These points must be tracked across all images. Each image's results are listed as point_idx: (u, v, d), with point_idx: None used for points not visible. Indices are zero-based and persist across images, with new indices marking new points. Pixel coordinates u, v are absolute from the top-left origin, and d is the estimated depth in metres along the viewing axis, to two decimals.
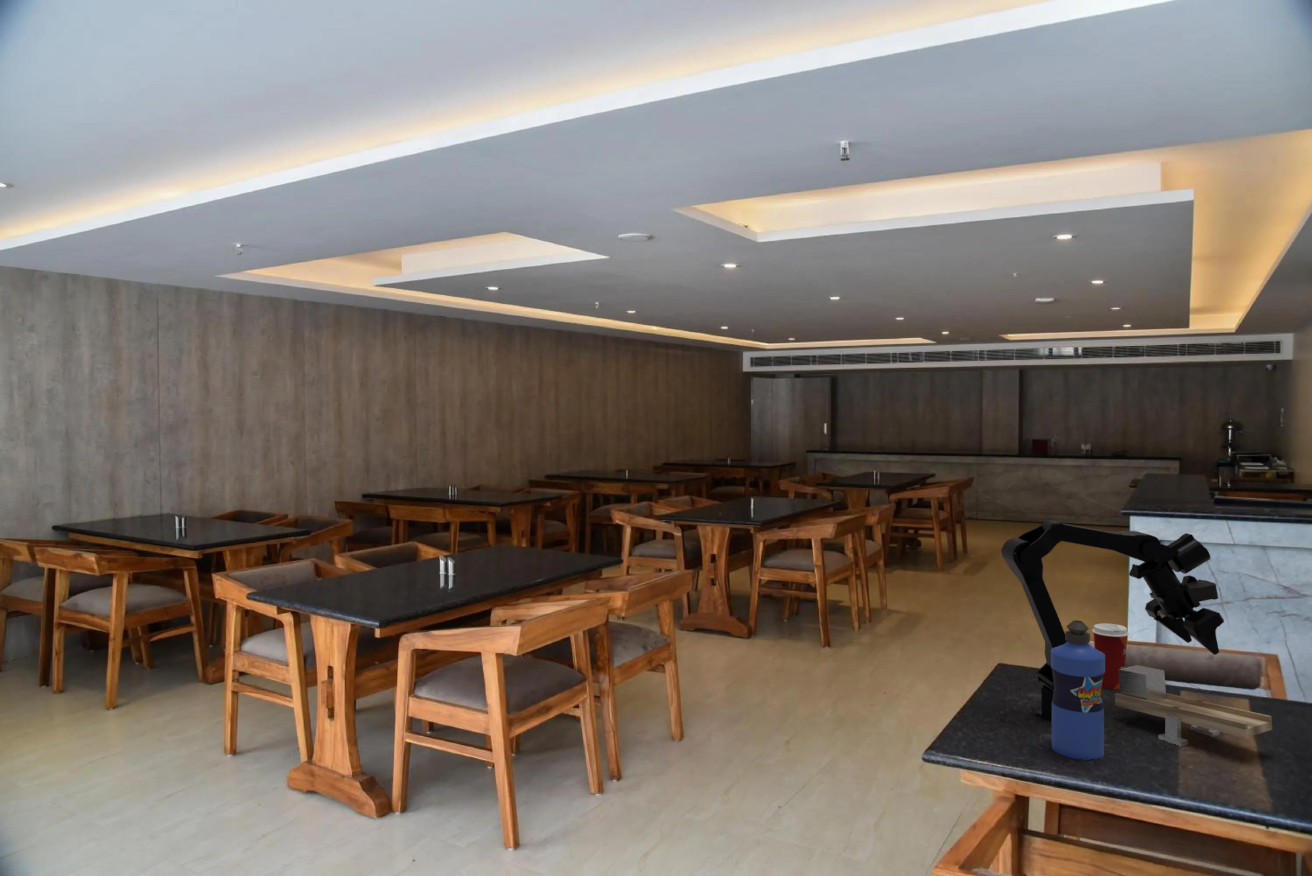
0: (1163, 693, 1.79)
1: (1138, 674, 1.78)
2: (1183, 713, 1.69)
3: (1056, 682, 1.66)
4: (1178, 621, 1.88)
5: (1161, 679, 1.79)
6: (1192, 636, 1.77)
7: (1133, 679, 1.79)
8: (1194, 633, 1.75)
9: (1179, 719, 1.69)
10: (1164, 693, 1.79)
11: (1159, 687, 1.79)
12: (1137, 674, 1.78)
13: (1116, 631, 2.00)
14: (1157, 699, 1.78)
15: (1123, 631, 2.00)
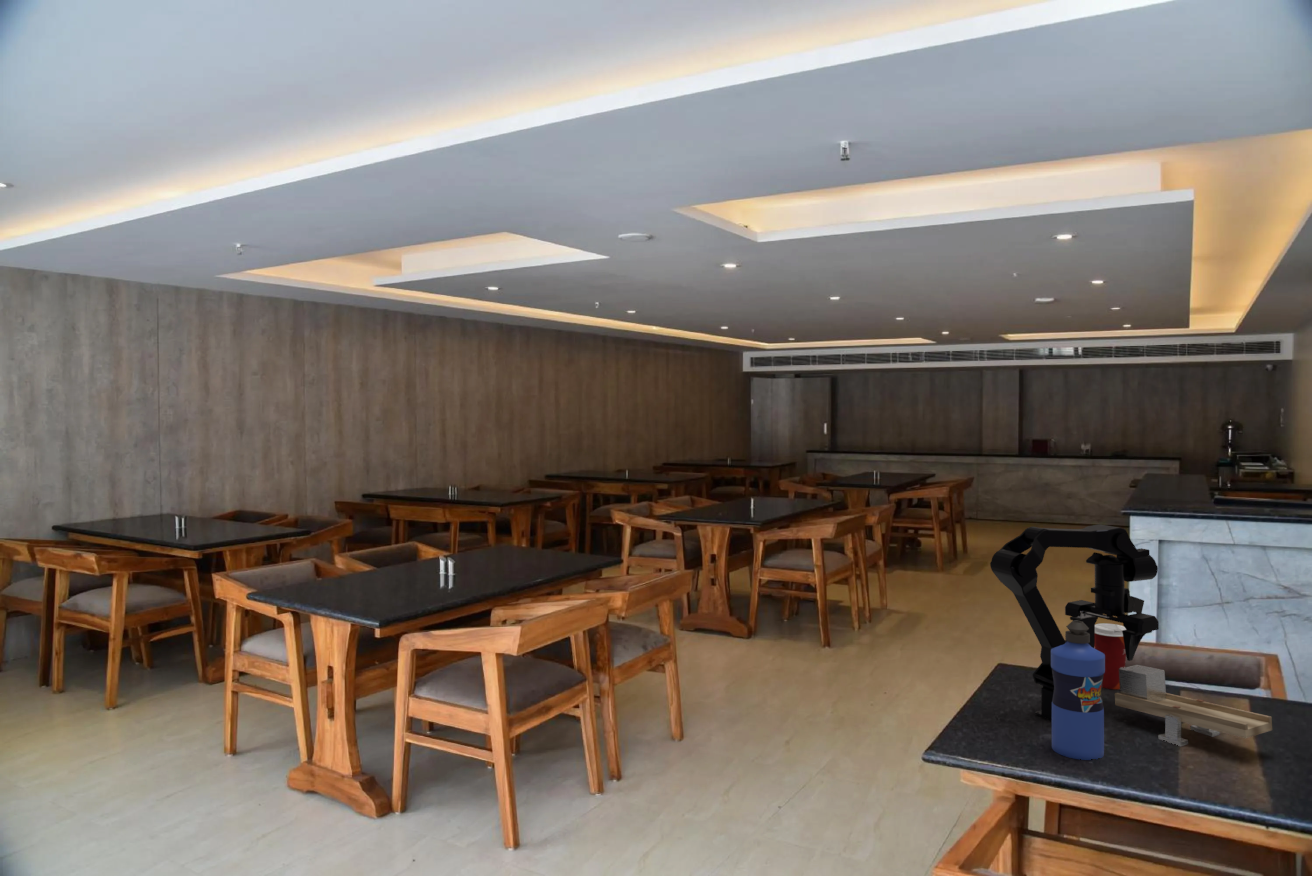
0: (1163, 693, 1.79)
1: (1138, 674, 1.78)
2: (1183, 713, 1.69)
3: (1056, 682, 1.66)
4: (1091, 627, 1.92)
5: (1161, 679, 1.79)
6: (1125, 634, 1.81)
7: (1133, 679, 1.79)
8: (1135, 629, 1.79)
9: (1179, 719, 1.69)
10: (1164, 693, 1.79)
11: (1159, 686, 1.79)
12: (1137, 674, 1.78)
13: (1116, 631, 2.00)
14: (1157, 699, 1.78)
15: None
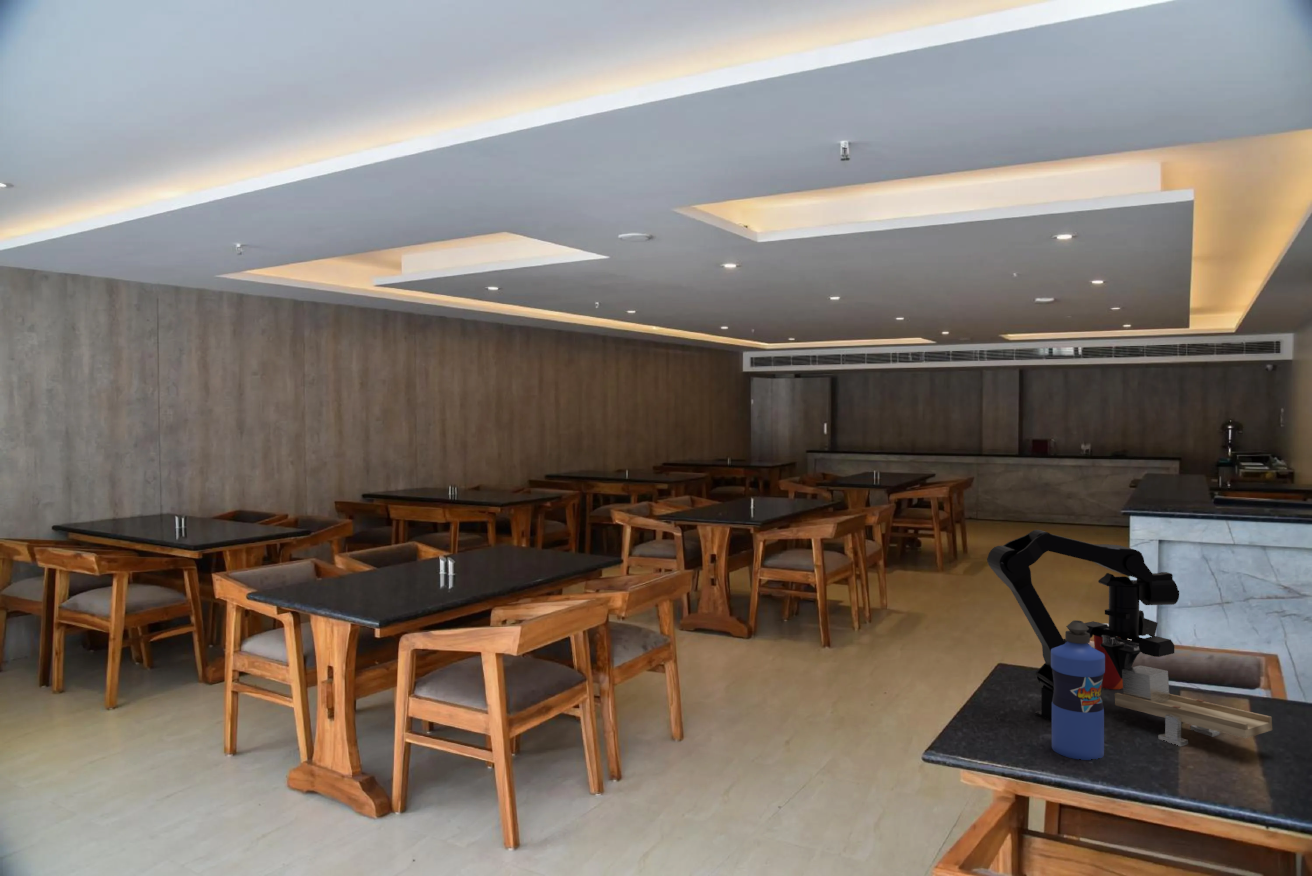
0: (1166, 693, 1.78)
1: (1142, 674, 1.78)
2: (1183, 713, 1.69)
3: (1056, 682, 1.66)
4: None
5: (1165, 679, 1.78)
6: (1120, 652, 1.82)
7: (1136, 679, 1.79)
8: (1151, 653, 1.75)
9: (1179, 719, 1.69)
10: (1167, 694, 1.78)
11: (1163, 687, 1.78)
12: (1141, 674, 1.78)
13: None
14: (1161, 700, 1.77)
15: None
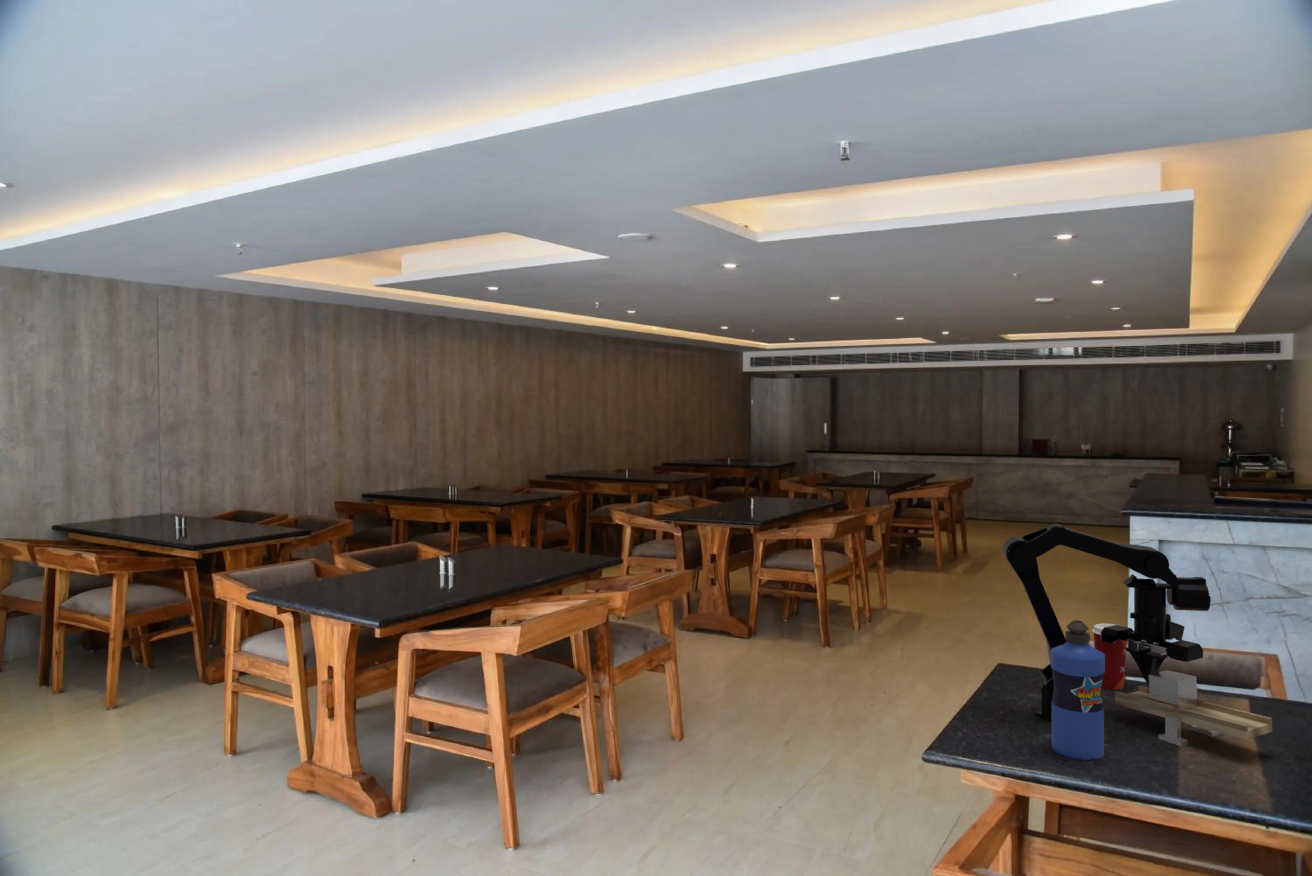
0: (1194, 700, 1.73)
1: (1170, 680, 1.72)
2: (1183, 713, 1.69)
3: (1056, 682, 1.66)
4: None
5: (1193, 685, 1.73)
6: (1147, 657, 1.77)
7: (1164, 685, 1.73)
8: (1180, 657, 1.70)
9: (1179, 719, 1.69)
10: (1195, 700, 1.73)
11: (1191, 693, 1.73)
12: (1169, 680, 1.73)
13: None
14: (1189, 706, 1.72)
15: None
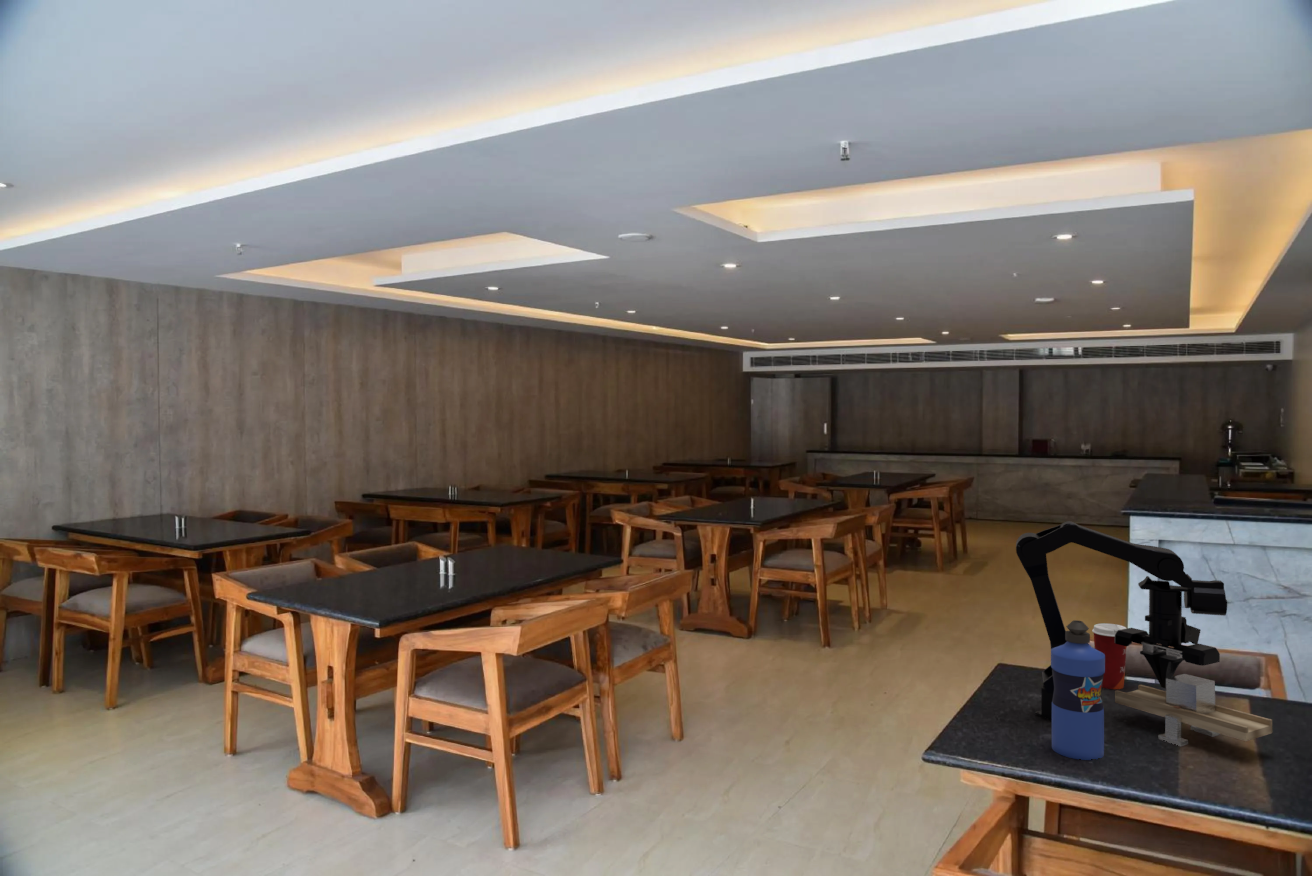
0: (1212, 705, 1.70)
1: (1187, 685, 1.69)
2: (1183, 714, 1.69)
3: (1056, 682, 1.66)
4: None
5: (1211, 690, 1.70)
6: (1162, 660, 1.74)
7: (1181, 689, 1.70)
8: (1196, 661, 1.67)
9: (1179, 719, 1.69)
10: (1213, 705, 1.70)
11: (1209, 698, 1.70)
12: (1186, 685, 1.69)
13: (1116, 631, 2.00)
14: (1206, 711, 1.69)
15: None
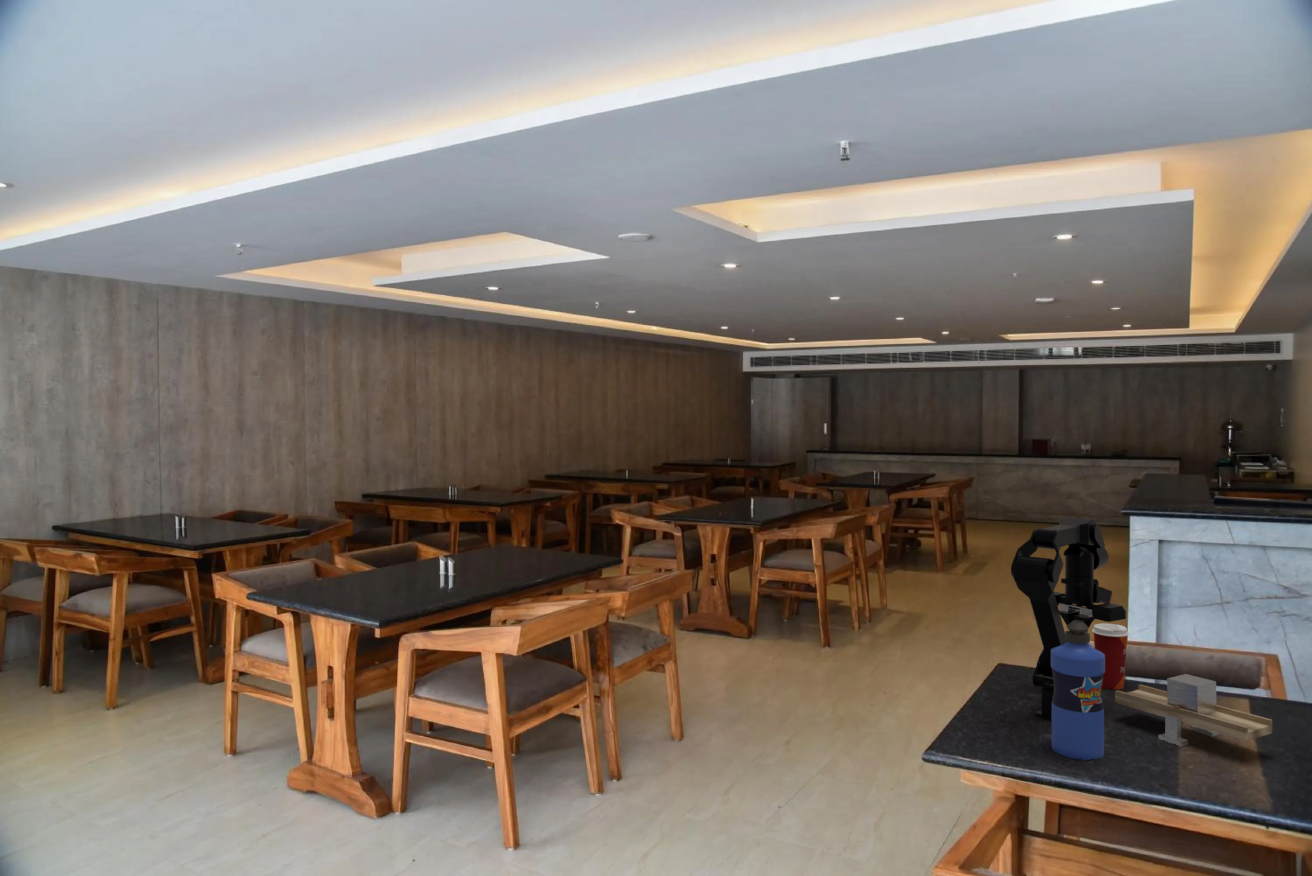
0: (1214, 705, 1.70)
1: (1189, 685, 1.69)
2: (1183, 714, 1.69)
3: (1056, 682, 1.66)
4: None
5: (1212, 690, 1.70)
6: (1075, 619, 1.90)
7: (1183, 690, 1.70)
8: (1103, 618, 1.84)
9: (1179, 719, 1.69)
10: (1214, 705, 1.70)
11: (1210, 698, 1.69)
12: (1188, 685, 1.69)
13: (1116, 631, 2.00)
14: (1208, 712, 1.69)
15: (1123, 631, 2.00)
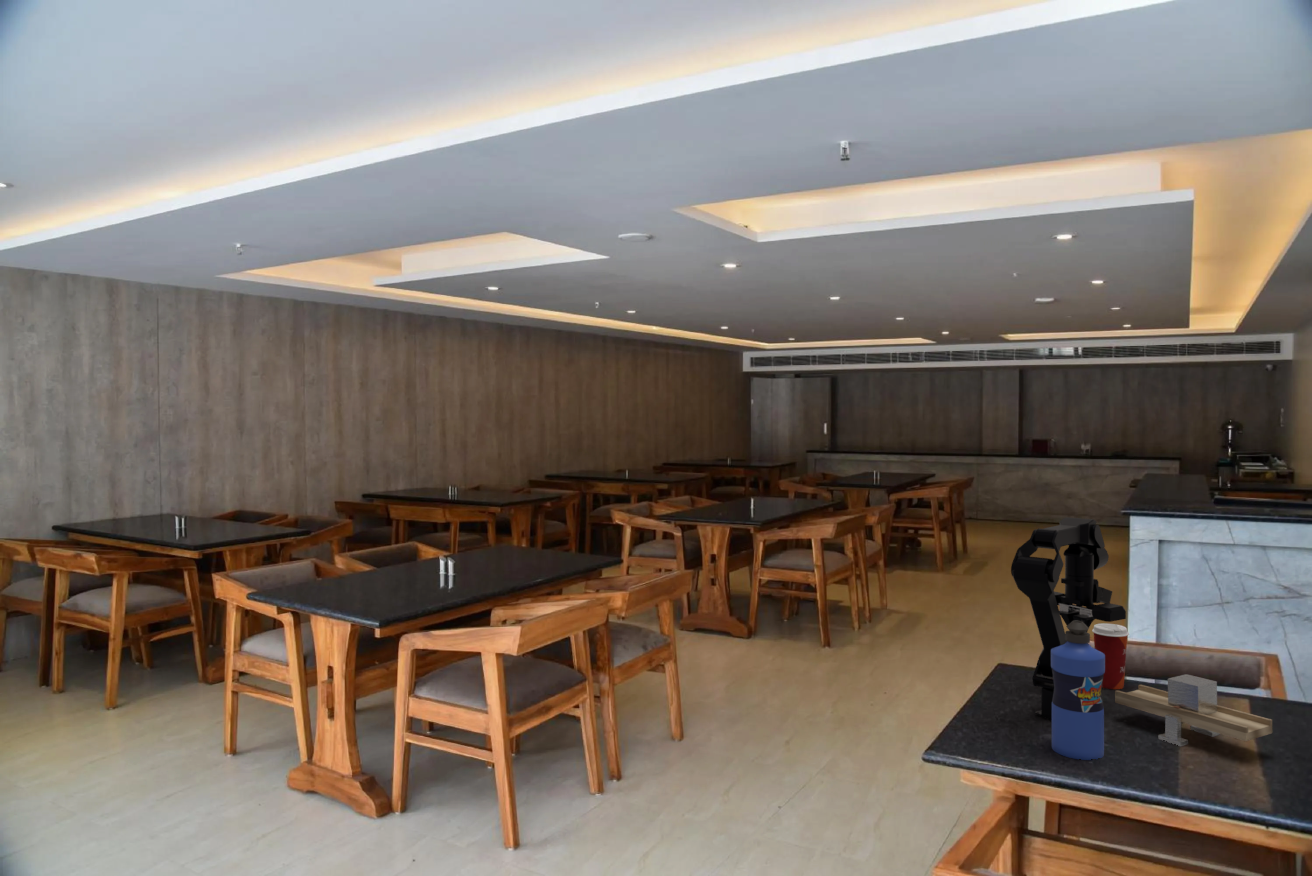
0: (1214, 705, 1.70)
1: (1189, 685, 1.69)
2: (1183, 714, 1.69)
3: (1056, 682, 1.66)
4: None
5: (1213, 691, 1.70)
6: (1075, 619, 1.90)
7: (1183, 690, 1.70)
8: (1103, 618, 1.84)
9: (1179, 719, 1.69)
10: (1215, 706, 1.70)
11: (1211, 699, 1.69)
12: (1188, 685, 1.69)
13: (1116, 631, 2.00)
14: (1208, 712, 1.69)
15: (1123, 631, 2.00)
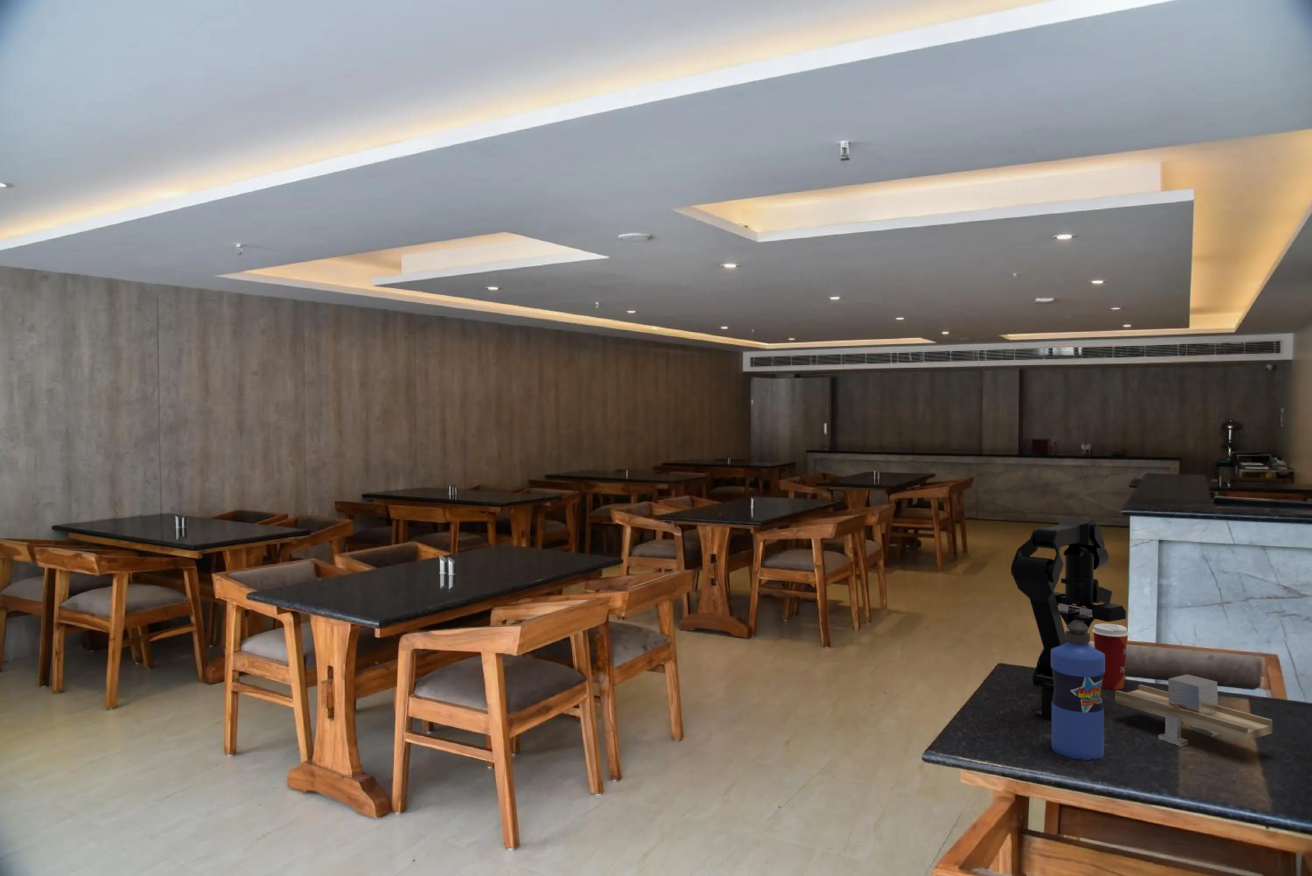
0: (1215, 705, 1.70)
1: (1190, 685, 1.69)
2: (1183, 714, 1.69)
3: (1056, 682, 1.66)
4: None
5: (1214, 691, 1.69)
6: (1075, 619, 1.90)
7: (1184, 690, 1.70)
8: (1103, 618, 1.84)
9: (1179, 719, 1.69)
10: (1215, 706, 1.70)
11: (1212, 699, 1.69)
12: (1189, 685, 1.69)
13: (1116, 631, 2.00)
14: (1209, 712, 1.69)
15: (1123, 631, 2.00)
